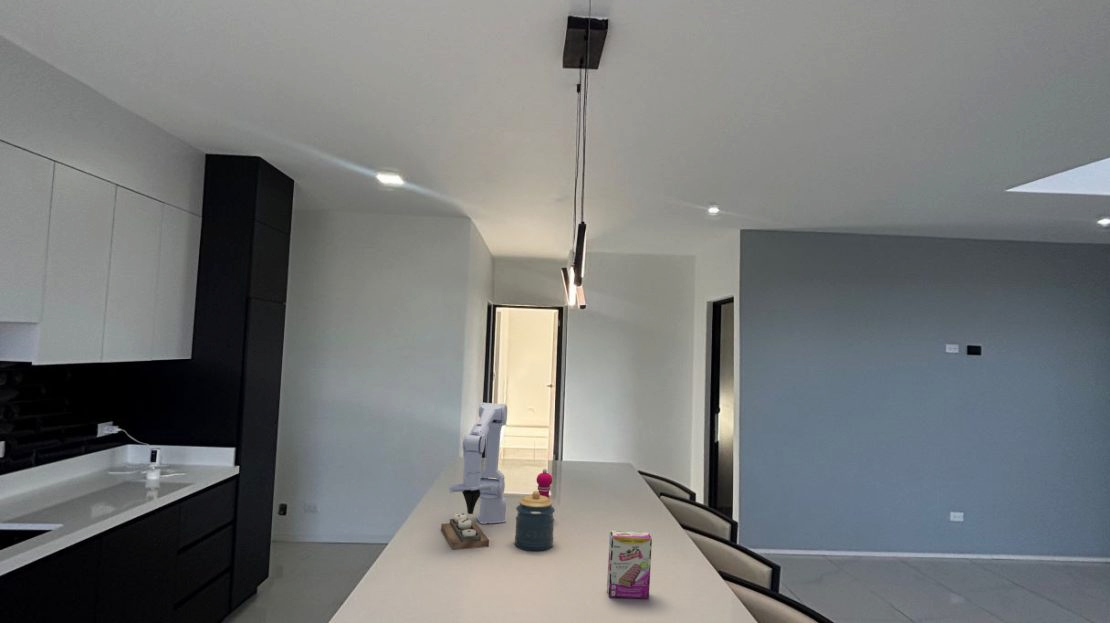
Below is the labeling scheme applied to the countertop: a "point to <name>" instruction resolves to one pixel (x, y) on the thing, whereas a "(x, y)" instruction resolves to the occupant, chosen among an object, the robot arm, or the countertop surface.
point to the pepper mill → (544, 483)
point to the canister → (534, 523)
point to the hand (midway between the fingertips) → (470, 513)
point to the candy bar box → (629, 564)
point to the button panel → (460, 542)
